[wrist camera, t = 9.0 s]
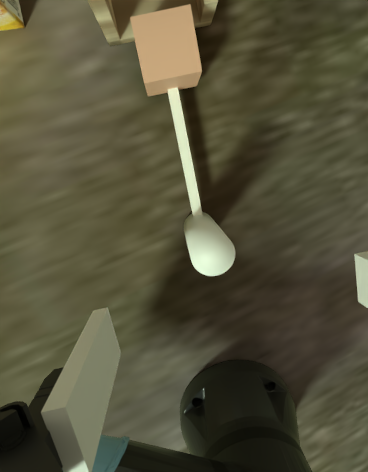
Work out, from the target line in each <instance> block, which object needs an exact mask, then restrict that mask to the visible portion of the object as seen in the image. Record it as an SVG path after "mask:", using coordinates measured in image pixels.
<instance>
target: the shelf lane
mask: <svg viewBox="0 0 368 472" xmlns="http://www.w3.org/2000/svg"><path fill="white" fill-rule="evenodd" d="M88 2H89V4H90V7H91V9H92V11H93V13H94V15H95V17H96V19H97V21H98V23H99V25H100V27H101V29H102V31H103V33H104V35H105V37H106V39H107V41H108V43H109V45H110V46H114V45H119V44H124V43H128V42H133V41H135V38H134V34H133V29H132V25H131V20H130V17H133V16H137V15H142V14H147V13H151V12H156V11H161V10H166V9H170V8H175V7H180V6H184V5H189V4H191V10H192V16H193V22H194V27H195V28H199V27H203V26H208V25H211V23H212V19H213V16H214V13H215V10H216V6H217V3H218V0H88Z"/></svg>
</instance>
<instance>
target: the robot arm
mask: <svg viewBox="0 0 368 472" xmlns="http://www.w3.org/2000/svg"><path fill="white" fill-rule="evenodd" d="M354 255H355V267H356V280H357V293H358V302H359V303H361V304H362V305H364V306H365V307H366V308H368V251H366V252H361V253H356V254H354ZM120 356H121V351H120V348H119V344H118V341H117V338H116V334H115V331H114V327H113V324H112V320H111V317H110V314H109V310H108V307H107V308H103V309H98V310H93V312H92V314H91V316H90V318H89V320H88V322H87V324H86V325H85V327H84V329H83V331H82V333H81V335H80V337H79V339H78V341H77V343H76V345H75V347H74V349H73V351H72V353H71V355H70V357H69V358H68V360H67V362H66V364H65V366H64V367H63V368H59V369H54V370H53V371H52V372H51V373H50V374H49V375H48V376H47V377H46V378H45V379H44V381H43V383H42V384H41V386H40V388H39V391H37V393H36V395H35V397H34V399H33V400H32V402H31V403H30V405H29V407H28V406H27V404H26V403H24V402H13V403H9V404H7V405H5V406H3V407H1V408H0V472H312V470H311V468H310V466H309V464H308V462H307V460H306V458H305V456H304V454H303V452H302V450H301V447H300V441H299V433H298V425H297V417H296V409H295V405H294V401H293V399H292V396H291V394H290V392H289V390H288V389H287V387H286V385H285V383H284V381H283V380H282V379H281V377H280V376H279V375H278V374H277V373H276V372H274V371H273V370H272V369H270V368H268V367H267V366H265V365H262V364H260V363H257V362H252V361H246V360H234V361H227V362H223V363H219V364H216V365H214V366H212V367H210V368H208V369H206V370H204V371H203V372H202V373H200V374H199V375H198V376H197V377H196V378H195V379H193V381H192V382H191V383H190V384H189V386H188V387H187V389H186V390H185V392H184V395H183V397H182V400H181V405H180V421H181V430H182V435H183V438H184V440H185V443H186V445H187V447H188V449H189V452H190V454H187V453H183V452H179V451H175V450H170V449H166V448H162V447H157V446H153V445H149V444H145V443H140V442H136V441H132V440H129V437H126V436H124V437H121V438H117V437H111V436H105V435H101V432H102V428H103V424H104V420H105V416H106V412H107V408H108V404H109V400H110V396H111V392H112V388H113V384H114V380H115V376H116V372H117V368H118V364H119V360H120Z"/></svg>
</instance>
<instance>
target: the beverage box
mask: <svg viewBox="0 0 368 472" xmlns="http://www.w3.org/2000/svg"><path fill="white" fill-rule="evenodd" d="M19 28H25V27H24V22H23V17H22V13H21V8H20V3H19V0H0V31H1V30H10V29H19Z"/></svg>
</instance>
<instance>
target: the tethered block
mask: <svg viewBox="0 0 368 472" xmlns="http://www.w3.org/2000/svg"><path fill="white" fill-rule="evenodd" d="M130 20H131V25H132V29H133V34H134V38H135V43H136V48H137V52H138V57H139V61H140V66H141V70H142V75H143V79H144V84H145V87H146V91H147V94H148V96H153V95H158V94H162V93H167V92H168V96H169V101H170V106H171V111H172V116H173V121H174V125H175V130H176V135H177V140H178V145H179V150H180V155H181V160H182V165H183V170H184V175H185V180H186V184H187V189H188V194H189V199H190V204H191V209H192V214H190V215H189V216H188V217H187V218H186V220H185V222H184V226H183V228H184V233H185V237H186V242H187V246H188V250H189V254H190V258H191V262H192V264H193V266H194V268H195V269H196V270H197V271H198V272H200V273H201V274H204V275H207V276H217V275H221V274H223V273H225V272H226V271H227V270H228V269H229V268H230V267H231V266H232V264H233V262H234V259H235V248H234V245H233V243H232V242H231V241H230V239H229V238H228V237H227V236H226V234H225V233H224V232H223V231H222V230H221V228H220V227H219V226H218V225H217V224H216V222H215V221H214V220H213V219H212V218H211V216H210V215H208V214H207V213H204V212H202V209H201V204H200V199H199V194H198V189H197V184H196V179H195V173H194V168H193V163H192V158H191V153H190V148H189V143H188V138H187V133H186V127H185V122H184V117H183V112H182V107H181V102H180V97H179V92H178V90H181V89H186V88H190V87H195V86H197V84H198V81H199V78H200V76H201V73H202V67H201V61H200V56H199V50H198V44H197V39H196V33H195V27H194V22H193V16H192V10H191V4H189V5H184V6H180V7H175V8H170V9H166V10H161V11H156V12H151V13H147V14H142V15H137V16H133V17H130Z"/></svg>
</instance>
